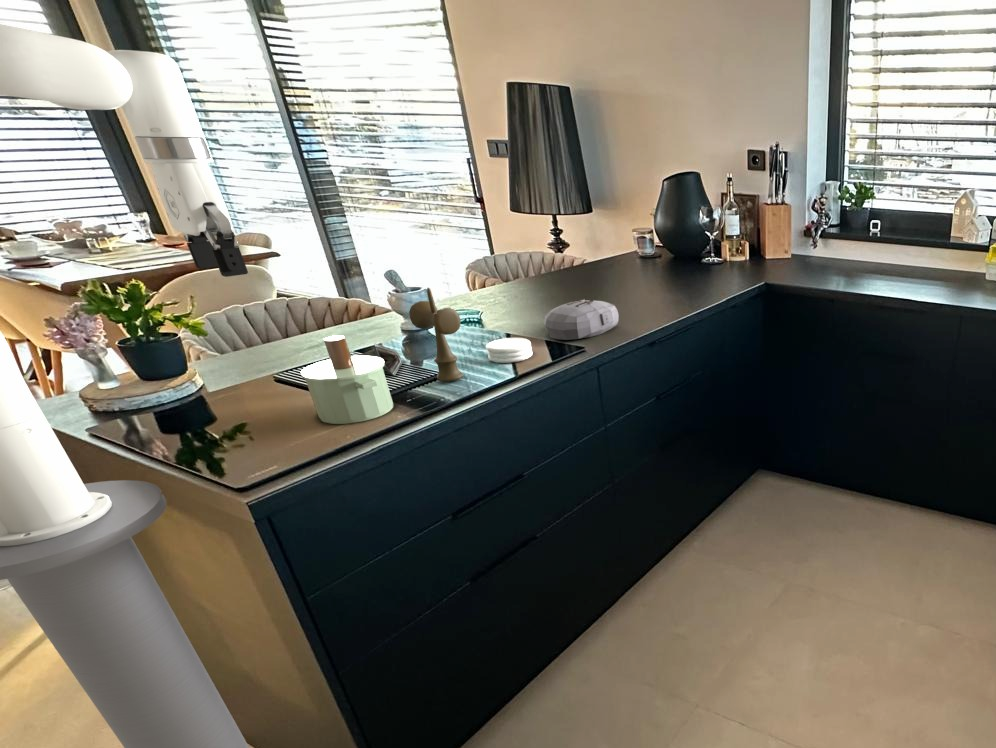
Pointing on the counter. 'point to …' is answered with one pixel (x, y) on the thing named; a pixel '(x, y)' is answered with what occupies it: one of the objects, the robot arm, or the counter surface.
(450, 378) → the kendama
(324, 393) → the pot
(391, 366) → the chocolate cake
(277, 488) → the counter surface
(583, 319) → the grey rounded bag
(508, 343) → the coaster
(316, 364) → the lid
